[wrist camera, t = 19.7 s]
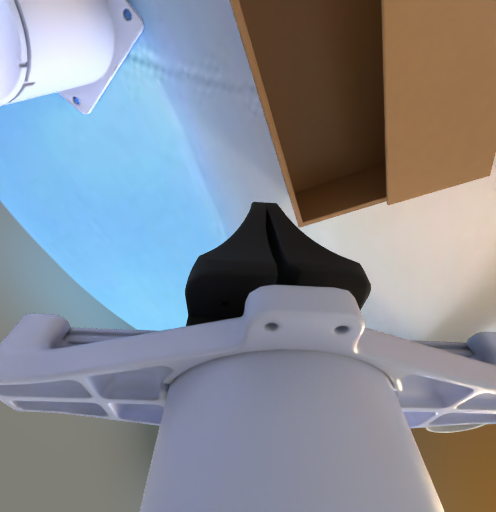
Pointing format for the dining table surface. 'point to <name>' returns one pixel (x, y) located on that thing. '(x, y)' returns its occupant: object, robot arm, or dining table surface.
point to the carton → (321, 98)
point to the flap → (438, 94)
